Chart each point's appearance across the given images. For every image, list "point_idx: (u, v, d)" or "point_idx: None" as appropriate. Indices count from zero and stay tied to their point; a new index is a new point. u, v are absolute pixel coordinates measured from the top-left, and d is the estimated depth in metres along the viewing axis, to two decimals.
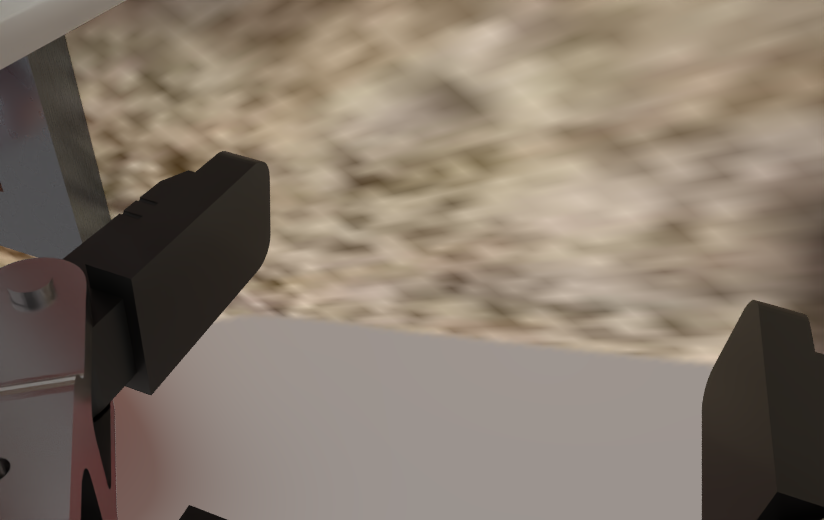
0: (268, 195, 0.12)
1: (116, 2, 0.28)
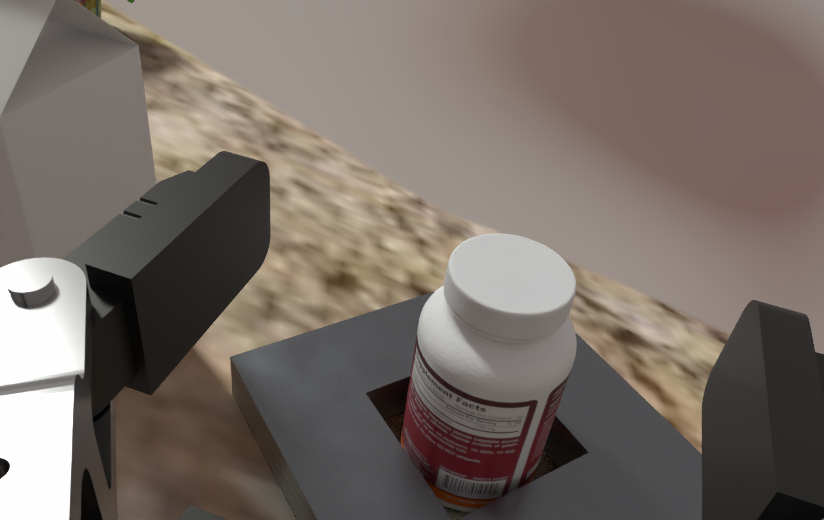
0: (268, 195, 0.12)
1: None
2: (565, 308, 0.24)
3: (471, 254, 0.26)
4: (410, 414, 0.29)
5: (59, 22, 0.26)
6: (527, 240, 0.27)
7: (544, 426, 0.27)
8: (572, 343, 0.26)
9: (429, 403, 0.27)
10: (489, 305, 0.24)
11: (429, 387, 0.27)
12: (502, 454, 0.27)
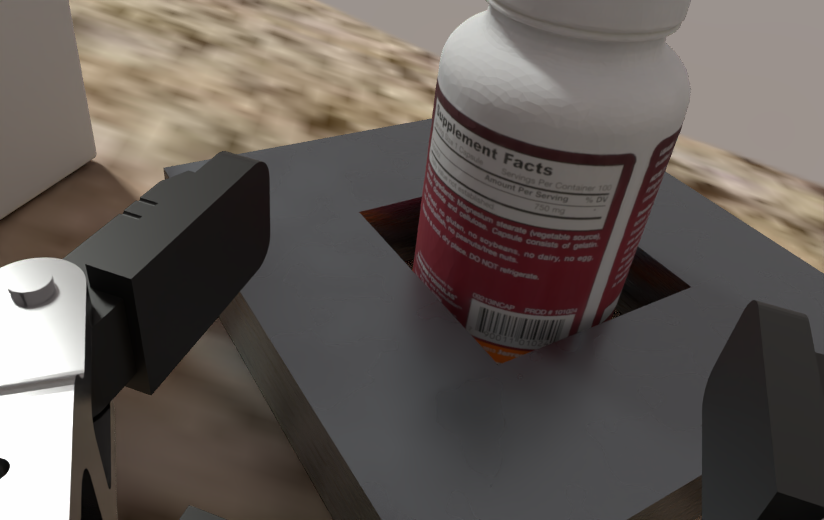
0: (268, 195, 0.12)
1: None
2: None
3: None
4: (426, 222, 0.19)
5: None
6: None
7: (637, 221, 0.17)
8: (686, 75, 0.17)
9: (457, 183, 0.17)
10: None
11: (458, 152, 0.17)
12: (573, 262, 0.17)
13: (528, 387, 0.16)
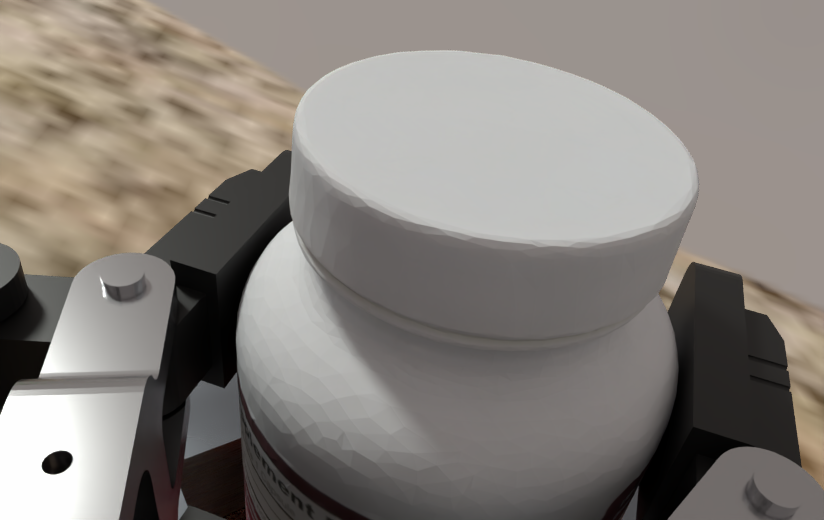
0: None
1: None
2: (675, 234, 0.07)
3: (374, 85, 0.09)
4: None
5: None
6: (541, 68, 0.10)
7: None
8: (670, 352, 0.09)
9: (266, 519, 0.10)
10: (409, 216, 0.06)
11: (261, 476, 0.09)
12: None
13: None
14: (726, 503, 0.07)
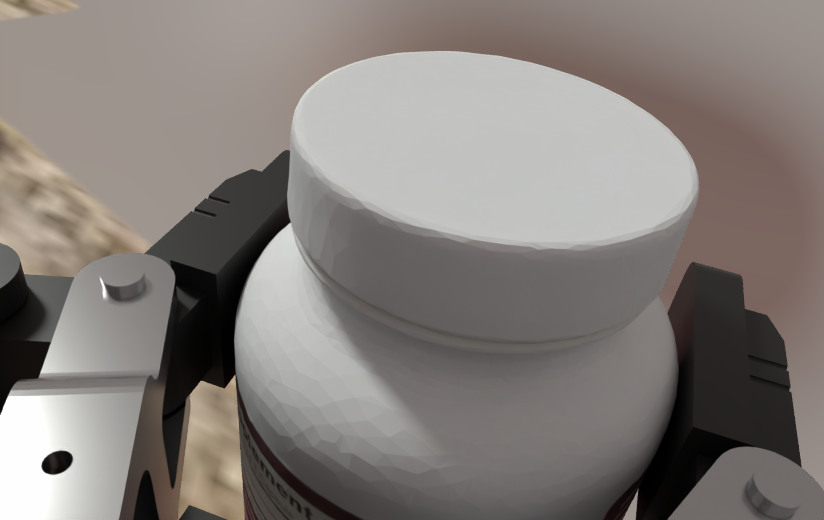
0: None
1: None
2: (675, 236, 0.07)
3: (373, 87, 0.09)
4: None
5: None
6: (540, 68, 0.10)
7: None
8: (670, 354, 0.09)
9: None
10: (407, 218, 0.06)
11: (259, 480, 0.09)
12: None
13: None
14: (726, 503, 0.07)
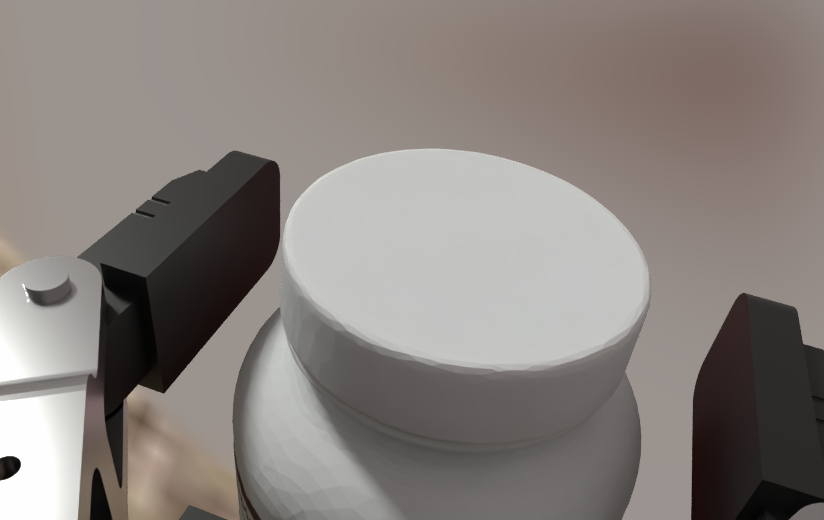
0: (278, 194, 0.12)
1: None
2: (625, 347, 0.08)
3: (358, 194, 0.09)
4: None
5: None
6: (514, 166, 0.11)
7: None
8: (632, 433, 0.10)
9: None
10: (383, 342, 0.07)
11: None
12: None
13: None
14: None
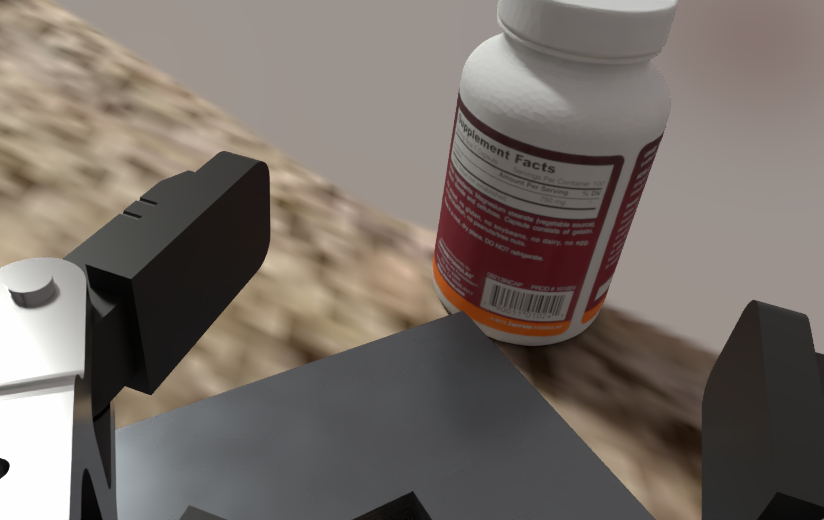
0: (268, 195, 0.12)
1: None
2: (667, 16, 0.18)
3: None
4: (448, 213, 0.23)
5: None
6: None
7: (626, 212, 0.21)
8: (667, 91, 0.20)
9: (475, 179, 0.21)
10: (567, 1, 0.17)
11: (477, 152, 0.20)
12: (572, 246, 0.21)
13: None
14: None
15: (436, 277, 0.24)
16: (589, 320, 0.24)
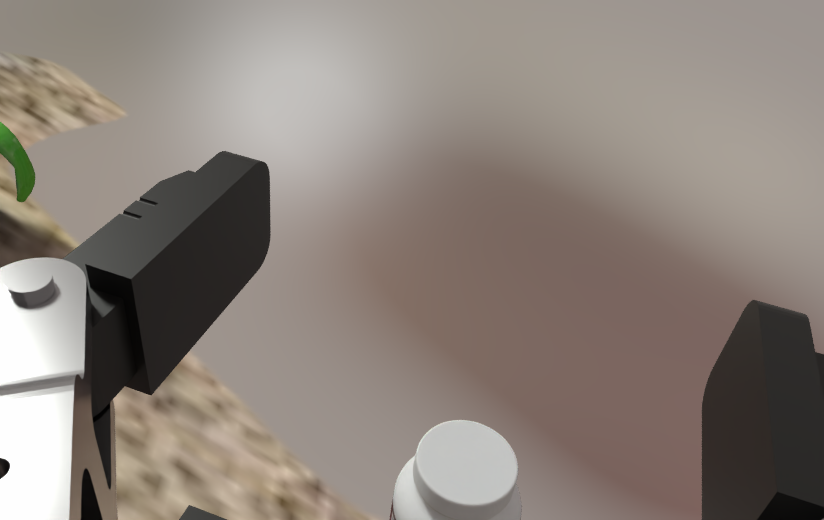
0: (268, 195, 0.12)
1: None
2: (507, 495, 0.31)
3: (435, 444, 0.32)
4: None
5: None
6: (481, 427, 0.33)
7: None
8: (516, 513, 0.33)
9: None
10: (446, 497, 0.30)
11: None
12: None
13: None
14: None
15: None
16: None
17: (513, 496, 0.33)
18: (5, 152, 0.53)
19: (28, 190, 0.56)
